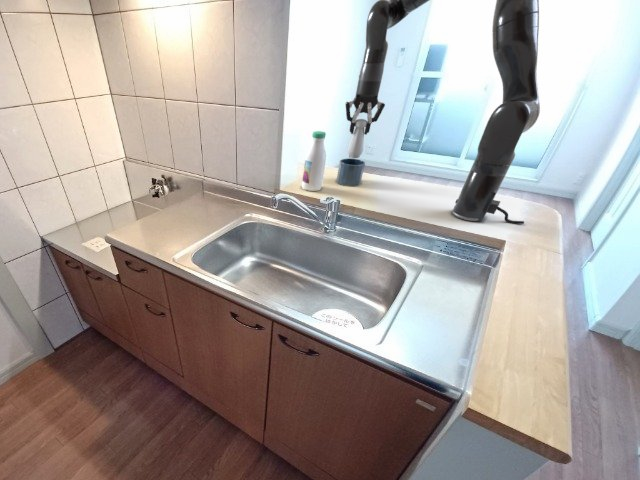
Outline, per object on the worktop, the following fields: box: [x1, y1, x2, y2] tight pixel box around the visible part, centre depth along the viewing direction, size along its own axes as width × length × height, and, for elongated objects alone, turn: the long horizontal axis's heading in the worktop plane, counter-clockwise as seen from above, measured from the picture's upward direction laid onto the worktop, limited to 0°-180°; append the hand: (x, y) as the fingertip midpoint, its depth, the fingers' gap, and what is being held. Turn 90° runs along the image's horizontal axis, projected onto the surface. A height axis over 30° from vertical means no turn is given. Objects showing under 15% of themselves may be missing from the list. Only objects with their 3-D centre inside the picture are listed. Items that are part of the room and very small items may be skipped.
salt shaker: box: [347, 118, 368, 159], centre depth 123 cm, size 6×6×13 cm
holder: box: [336, 158, 366, 187], centre depth 130 cm, size 10×10×8 cm
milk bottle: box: [301, 130, 327, 192], centre depth 121 cm, size 8×8×20 cm
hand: (358, 133), depth 121 cm, fingers closed on salt shaker, 4 cm apart
